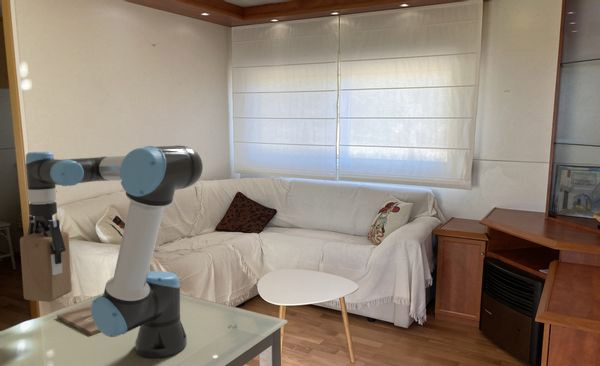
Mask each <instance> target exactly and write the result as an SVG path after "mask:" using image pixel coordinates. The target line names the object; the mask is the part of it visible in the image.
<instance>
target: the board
mask: <svg viewBox="0 0 600 366" xmlns="http://www.w3.org/2000/svg"><path fill="white" fill-rule="evenodd" d="M91 305H92V303H90V304H87V305H85V306H81V307H77V308H75V309H72V310H69V311H66V312H63V313H59V314H56V319H58V320H60V321H62V322H64V323H66V324H68V325H70V326H71V327H74V328H76V329H77V330H79V331H82V332H83V333H85V334H87V335H89V336H93V335H96V334H99V333H102V332H101V331H100V330H99V329H98V328H97V326H96V325H95V322H94V320H93V318H92V314H91Z"/></svg>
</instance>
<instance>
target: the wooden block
mask: <svg viewBox="0 0 600 366" xmlns="http://www.w3.org/2000/svg"><path fill="white" fill-rule="evenodd" d="M61 234H62V238H63V242H64V245H65V249H66V250H65V251H64V252H62V253H61V257H62V273H60V274H56V275H52V262H51V254H50V253H51V252H52V250H51V241H52V237H46V236H45V235H44V234H43V233H42V232H41V233H34V234H30V235H23V236H21V237H20V239H19V246H20V260H21V274H22V289H23V292H22V293H23V299H24V300H27V301H37V302H44V303H45V302H46V303H52V302H53V301H55V300H57V299H60V298H61V297H63V296H65V295H67V294H69V293H71V292H72V290H73V287H72V270H71V269H72V268H71V267H72V266H71V253H70V235H69V232H67V231H61Z"/></svg>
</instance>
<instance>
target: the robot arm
mask: <svg viewBox="0 0 600 366" xmlns="http://www.w3.org/2000/svg"><path fill="white" fill-rule="evenodd" d="M203 170H204V169H203V161H202V157H201V156H200V154H198V152H197V151H196V150H194V149H193V148H191V147H189V146H185V145H165V146H164V145H163V146H154V145H152V146H151V145H149V146H143V147H138V148H134V149H133V150H131V151H129V152H128V153H127V154H126V155H117V156H115V155H113V156H99V157H84V158H83V157H81V158H68V159H65V158H63V159H58V158H57V159H56V158H55V157H54V153H53V152H52V151H30V152H27V153H26V155H25V172H26V173H25V174H26V184H27V202H29V203H28V214H29V217H28V220H29V223H28V228H27V229H28V230H27V235H30V234H34V233H41V232H42V233H43V234H44V235H45V236H46V237H52V241H51V250H52V252H51V253H50V254H51V262H52V275H56V274H60V273H62V257H61V253H62V252H64V251H65V250H66V249H65V245H64V242H63V238H62V234H61V232H62V231H61V228H60V220H59V219H54V217H53V216H54V215H56V214H58V213H57V212H58V207H57V206H58V205H57V204H58V203H57V202H56V200H57V190H56V185H58V186H62V187H67V186H69V187H72V186H76V185H79V184H83V183H91V182H105V181H106V182H107V181H109V182H110V181H120V185H121V186H122V189H123V190H124V191H125V196H126V197H127V199H128V200H129V205H128V210H127V214H126V219H125V224H124V229H123V233H122V237H121V241H120V247H119V251H118V256H117V260H116V264H115V268H114V269H115V270H114V273H113V277H112V278H110V279H108V280H107V282H105V287H104V292H103V294H102V295H98V296H97V297H96V298H95V299H93V300H92V303H91V304H92V305H91V314H92V318H93V320H94V322H95V325H96V326H97V328H98V329H99V330H100V331H101V332H100V333H101V334H103V335H104V336H106V337H109V338H116V337H119V336H121V335H125V334H127V333H128V332H130V331H133V330H135V329H136V328H139V330H138V332H137V337H136V340H135V343H134V345H135V353H136V354H138V355H139V356H141V357H143V358H149V359H156V358H157V359H159V358H165V357H166V358H167V357H171V356H173V355H176V354H178V353H180V352H182V351H183V350H184V349H185V348H186V346H187V343H188V342H187V341H188V340H187V339H188V337H187V334H186V331H185V328H184V325H183V324H182V321H181V320H182V319H181V286H180V278H179V276H178V275H177V274H176V273H173V272H170V271H160V270H158V271H157V270H153V271H150V269H151V264H152V259H153V255H154V252H155V247H156V244H157V239H158V235H159V231H160V227H161V223H162V219H163V215H164V211H165V208H167V207H168V206H170V205H172V203H173V199H174V196H175V192H176V190H177V191H178V190H182V189H187V188H190V187H192V186H193V185H195V184H196V183H197V182H198V181H199V179H200V178H201V177H202V174H203ZM27 235H26V236H27Z"/></svg>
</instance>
